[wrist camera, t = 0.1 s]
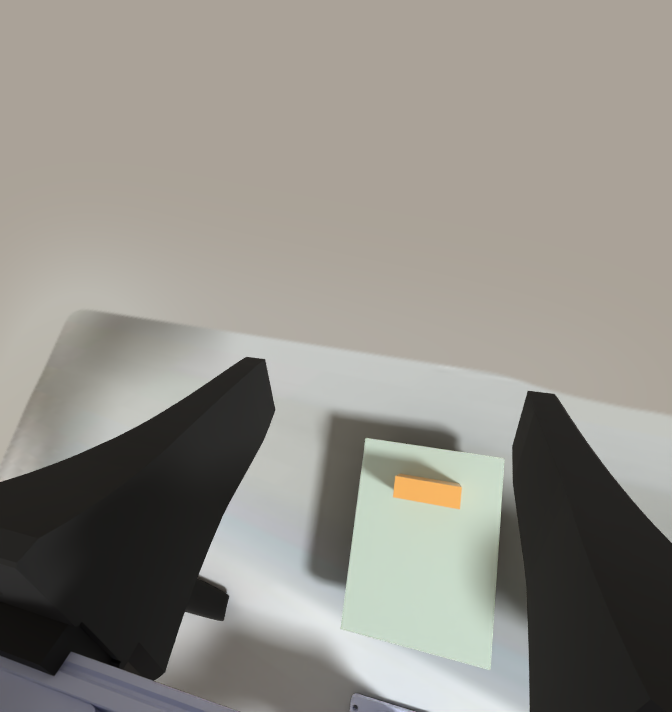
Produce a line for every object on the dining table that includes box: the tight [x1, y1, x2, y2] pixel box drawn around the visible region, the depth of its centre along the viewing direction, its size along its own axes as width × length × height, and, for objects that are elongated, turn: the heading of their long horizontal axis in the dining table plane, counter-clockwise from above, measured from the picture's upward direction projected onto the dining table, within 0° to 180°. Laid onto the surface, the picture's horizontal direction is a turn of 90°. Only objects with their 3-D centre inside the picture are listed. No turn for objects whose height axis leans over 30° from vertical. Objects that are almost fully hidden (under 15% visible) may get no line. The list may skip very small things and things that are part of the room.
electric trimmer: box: [185, 579, 229, 621], centre depth 44 cm, size 4×16×3 cm, turn 78°
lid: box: [341, 438, 505, 670], centre depth 33 cm, size 16×12×6 cm
